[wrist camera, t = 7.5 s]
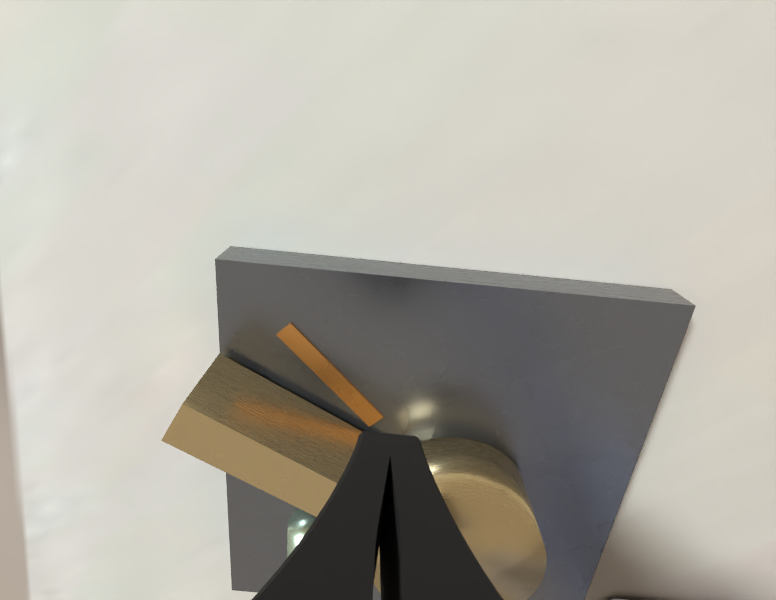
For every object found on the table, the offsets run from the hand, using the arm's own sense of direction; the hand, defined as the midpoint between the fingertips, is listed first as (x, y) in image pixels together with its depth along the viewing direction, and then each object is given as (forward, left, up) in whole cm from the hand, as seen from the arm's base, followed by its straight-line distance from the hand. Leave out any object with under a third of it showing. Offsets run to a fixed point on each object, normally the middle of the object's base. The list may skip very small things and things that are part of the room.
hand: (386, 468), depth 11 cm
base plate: (-5, -2, -8) cm, 10 cm away
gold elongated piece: (-5, 0, -6) cm, 7 cm away
